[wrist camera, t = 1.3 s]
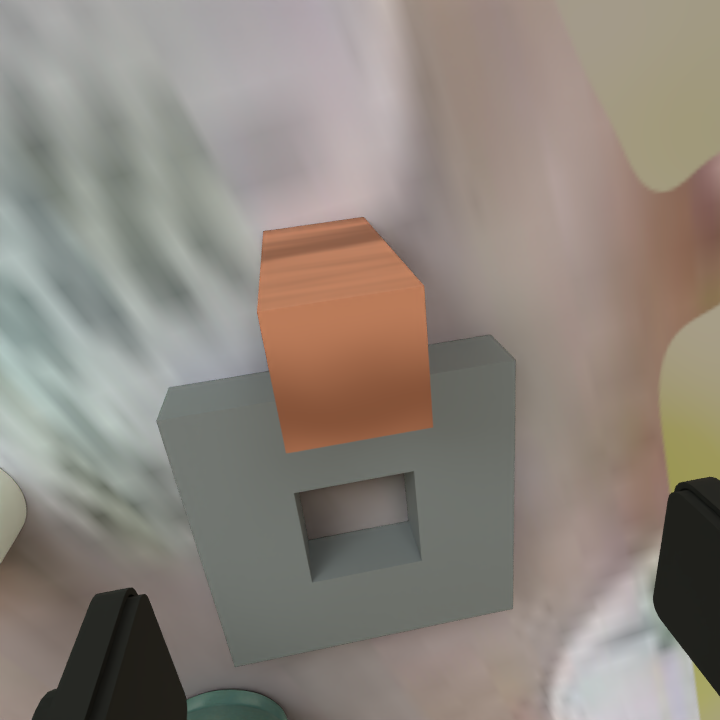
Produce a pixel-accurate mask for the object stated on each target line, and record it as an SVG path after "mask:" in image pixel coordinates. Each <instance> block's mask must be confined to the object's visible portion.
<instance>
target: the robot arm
mask: <svg viewBox="0 0 720 720" xmlns="http://www.w3.org/2000/svg"><path fill="white" fill-rule="evenodd" d="M653 603H654V607H655V610H656V612H657V614H658V616H659V618H660V619H661V621H662V622H663V623H664V625H665V626H666V627H667V629H668V630H669V631H670V632H671V634H672V635H673V636H674V638H675V639H676V640H677V641H678V643H679V644H680V645H681V647H682V648H683V649H684V651H685V652H686V653H687V654H688V656H689V657H690V658H691V660H692V661H693V662H694V664H695V665H696V666H697V667H698V669H699V670H700V671H701V673H702V674H703V675H704V676H705V677H706V679H707V680H708V682H709V683H710V684H711V686H712V687H713V688H714V689H715V691H716V692H717V693H718V695H719V696H720V480H718V479H717V478H713V477H707V478H701V479H696V480H691V481H686V482H681V483H679V484H678V485H677V486H676V488H675V491H674V492H673V493H671V494H670V495H669V498H668V503H667V509H666V516H665V522H664V529H663V536H662V542H661V549H660V555H659V562H658V568H657V575H656V582H655V588H654V595H653ZM32 720H187V701H186V696H185V693H184V690H183V688H182V685H181V682H180V680H179V677H178V675H177V672H176V669H175V667H174V664H173V661H172V659H171V656H170V654H169V651H168V648H167V646H166V643H165V640H164V638H163V635H162V632H161V630H160V627H159V625H158V622H157V619H156V617H155V614H154V611H153V609H152V606H151V604H150V601H149V599H148V597H147V595H145V594H142V595H138V594H137V592H136V591H135V589H133V588H126V589H120V590H115V591H110V592H105V593H99V594H96V595H95V596H94V597H93V599H92V601H91V603H90V605H89V608H88V610H87V613H86V615H85V618H84V621H83V623H82V626H81V628H80V631H79V634H78V636H77V639H76V641H75V644H74V646H73V649H72V652H71V654H70V657H69V659H68V662H67V665H66V667H65V670H64V672H63V675H62V678H61V680H60V683H59V685H58V688H57V689H54V690H52V691H49V692H47V694H46V695H45V696H44V697H43V698H42V699H41V701H40V703H39V705H38V707H37V709H36V710H35V713H34V715H33V718H32Z"/></svg>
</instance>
